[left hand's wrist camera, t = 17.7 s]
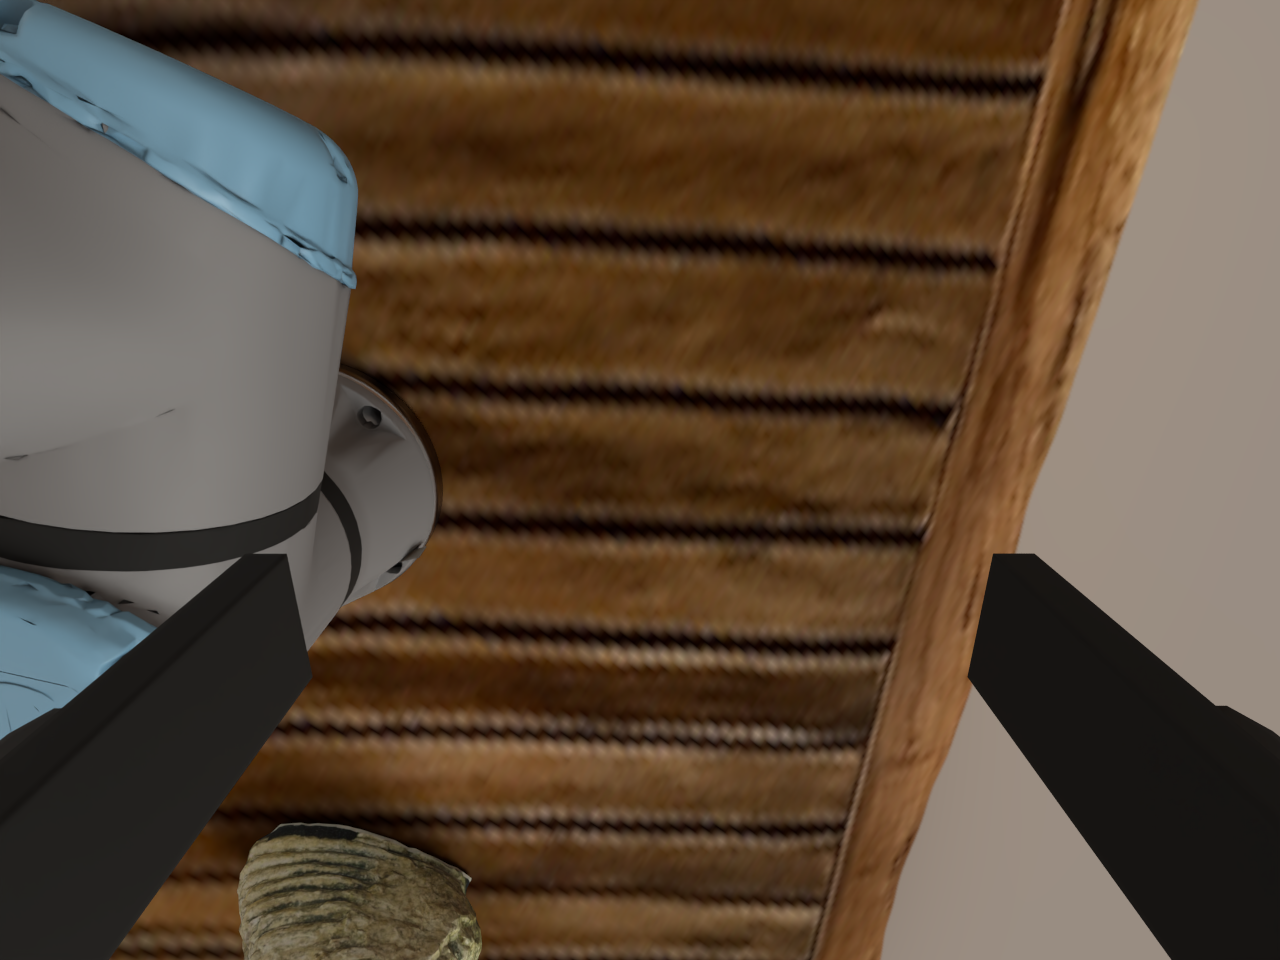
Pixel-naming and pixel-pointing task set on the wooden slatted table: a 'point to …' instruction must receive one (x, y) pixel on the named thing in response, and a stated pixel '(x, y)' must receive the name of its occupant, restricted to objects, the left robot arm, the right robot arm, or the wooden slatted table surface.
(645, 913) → the wooden slatted table surface
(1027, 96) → the wooden slatted table surface
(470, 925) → the fossil
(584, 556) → the wooden slatted table surface
